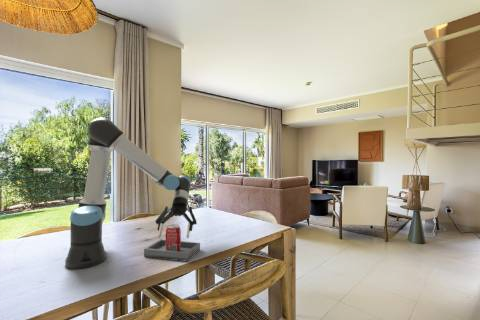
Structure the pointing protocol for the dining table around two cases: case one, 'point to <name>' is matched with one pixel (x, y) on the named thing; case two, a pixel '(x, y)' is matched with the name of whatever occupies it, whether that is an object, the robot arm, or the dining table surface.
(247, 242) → the dining table surface
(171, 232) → the soda can
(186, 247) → the tray
